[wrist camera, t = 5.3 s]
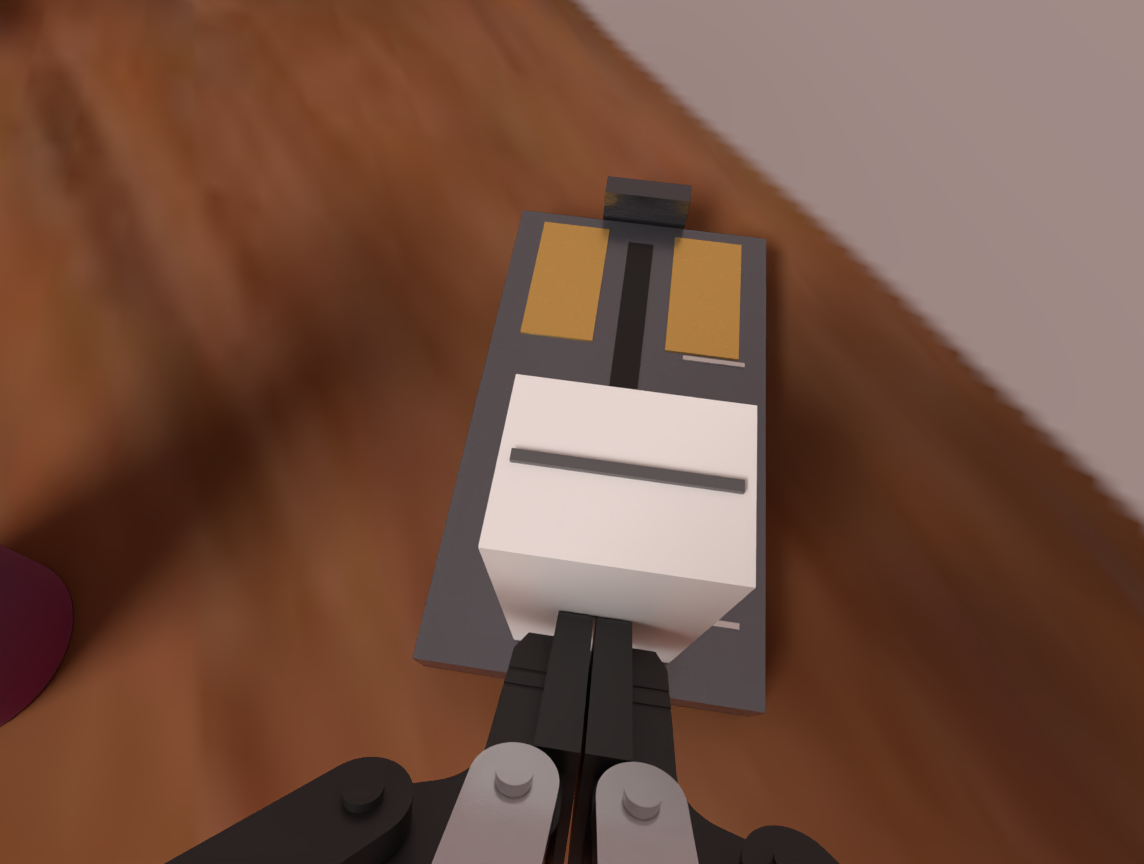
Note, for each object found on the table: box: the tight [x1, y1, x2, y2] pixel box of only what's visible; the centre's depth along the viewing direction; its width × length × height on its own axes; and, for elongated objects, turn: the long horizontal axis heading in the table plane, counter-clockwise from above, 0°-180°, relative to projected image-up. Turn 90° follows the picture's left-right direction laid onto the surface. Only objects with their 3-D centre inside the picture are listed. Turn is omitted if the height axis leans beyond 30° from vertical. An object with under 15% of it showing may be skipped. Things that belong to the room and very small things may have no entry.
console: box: [413, 176, 766, 717], centre depth 20 cm, size 18×9×3 cm, turn 172°
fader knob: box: [478, 374, 757, 663], centre depth 13 cm, size 3×4×8 cm
